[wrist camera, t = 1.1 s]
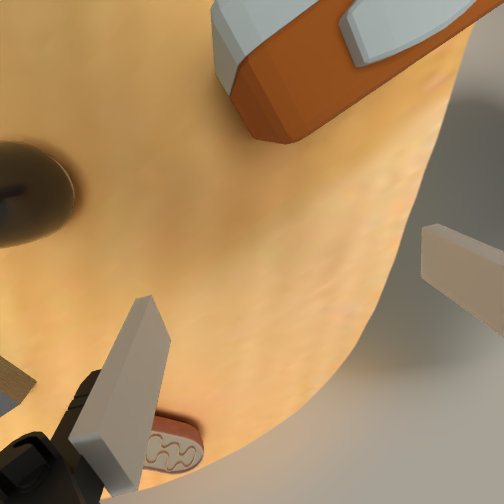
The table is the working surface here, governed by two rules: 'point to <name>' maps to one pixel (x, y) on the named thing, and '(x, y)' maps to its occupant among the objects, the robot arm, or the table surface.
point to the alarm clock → (322, 54)
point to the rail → (12, 386)
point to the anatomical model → (173, 447)
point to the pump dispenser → (31, 194)
